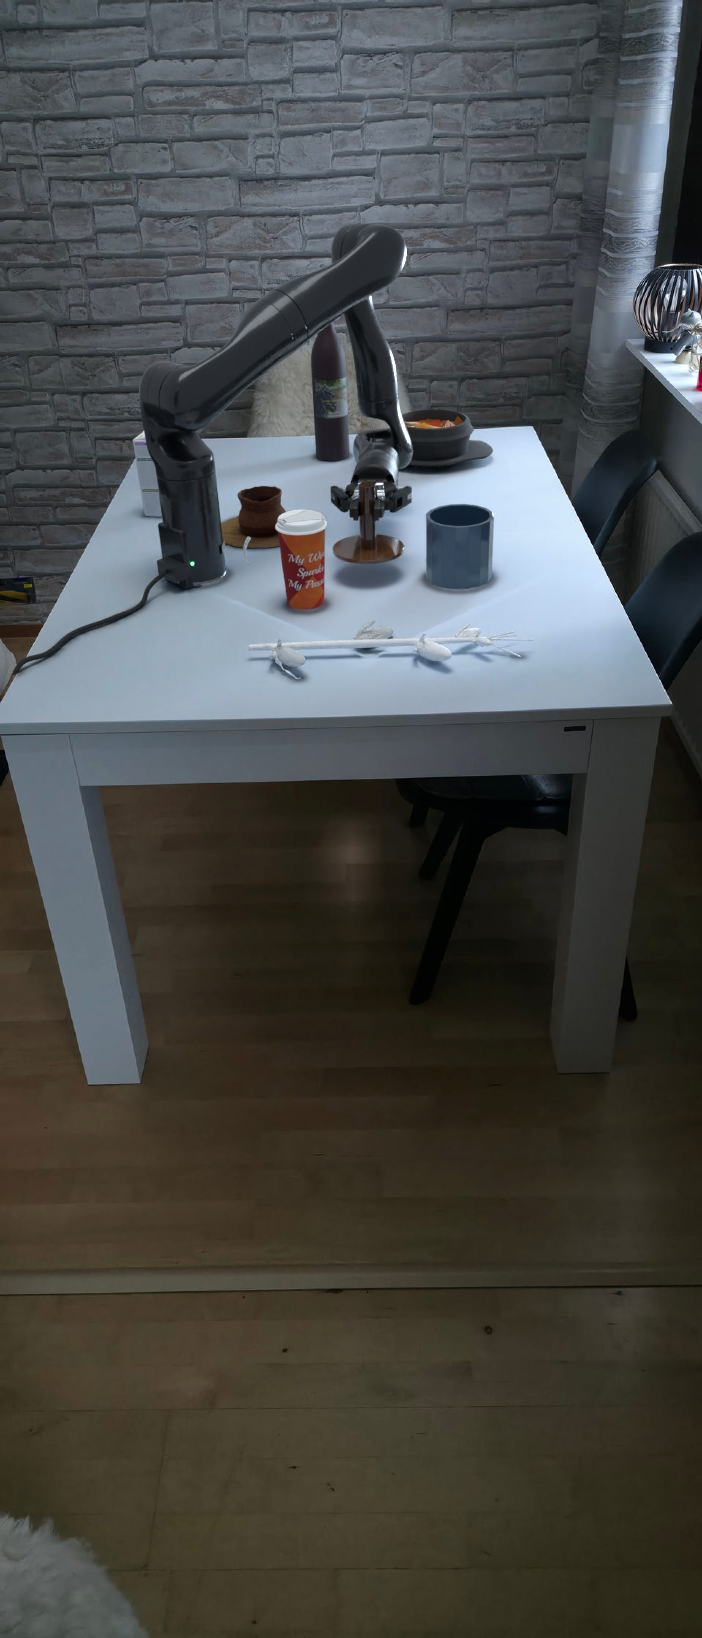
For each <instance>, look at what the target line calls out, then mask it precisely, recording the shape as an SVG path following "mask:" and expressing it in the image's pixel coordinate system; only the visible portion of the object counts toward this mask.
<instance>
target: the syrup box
mask: <svg viewBox="0 0 702 1638" xmlns="http://www.w3.org/2000/svg"><path fill="white" fill-rule="evenodd" d="M132 445H133V449H134V457H135V464H136V471H137V476H138V483H139V488H140V494H141V502H142V506H143V507H142V508H143V513H144V516H145V517H149V518H150V517H152V518H162V513H161V506H160V498H159V490H158V483H157V475H156V469H155V465H154V462H153V461H152V459H151V457H150V455H149V452H148V449H147V444H146V439H145V433H144V430H143V431H142V432H141V433H140V434H138V435H137V436H135V438H133V439H132Z"/></svg>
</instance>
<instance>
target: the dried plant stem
mask: <svg viewBox="0 0 702 1638" xmlns="http://www.w3.org/2000/svg"><path fill="white" fill-rule="evenodd" d="M250 540H251V538H250V537H247V539H246V540H245V543H244V547H243V556H244V560H245V561H246V563H247V565H250V563H249V560H248V556H247V548H248V547H247V545H248V543H249V541H250ZM375 623H376V620H371V621H370V622H367V623H366V624H363V626H362V627H360V628H359V629H358V631H357V632H356V634H355V636H353V638H352V639H346V640H345V639H343V640H342V639H341V640H340V639H339V640H317V641H294V642H293V641H292V642H283V640H282V639H281V638H279V639H278V640H277V642H275V643H271V642H270V643H254V644H252V643H251V644H248V651H249V652H254V651H255V652H257V651H258V652H259V651H263V652H264V651H265V652H266V651H271V652H272V653H270V654H269V656H268V657H269V660H270V661H271V660H275V664H277V665H278V666H279V667H281V670H283V671H285V672H286V673H287V674H289V675H290V676H291V677H293V678H295V679H296V680H300V679H302V677H297V676H296V675H294V673H292V672H291V671H290V670H288V669H284V667H283V665H285V666H287V667H289V668H292V667H303V666H304V665H305V664H306V658H305V656H304V655H303V654H302V653H301V652H299V651H304V650H305V651H307V650H339V649H340V650H341V649H368V648H370V649H371V648H390V647H391V648H392V647H414V648H413V649H412V654H414V655H416V654H417V655H419V656H421V657H422V658H425V659H426V660H429V661H431V662H436V661H440V662H445V661H448V660H450V659H451V658H452V656H453V655H452V651H450V649H449V648H447V647H446V646H443V645H450V644H451V645H452V644H467V643H472V644H476V645H477V646H480V647H491V646H493V647H496V648H498V649H501V650H502V651H505V652H507V653H509V654H512V655H513V656H516V657H519V658H521V657H522V655H520V654H518V653H516V652H513V651H512V650H509V649H507V648H504V647H503V646H500V645H498V644H495V643H493V641H496V642H497V641H498V642H499V641H519V642H520V641H521V642H522V641H523V642H524V641H525V642H526V641H527V642H532V641H533V642H534V640H535V638H511V637H516V636H517V634H516V632H515V630H512V631H508V632H504V633H503V632H502V633H499V634H495V635H488V636H485V637H484V636H480V635H481V633H482V630H481V628H479V627H470V626H471V623H467V624H466V625H463V626H462V627H461V628H460V629H459V630H458V631H457V633H456V634H454V637H427V633H426V632H423V633H422V634H421V636H420V637H410V638H409V637H408V638H407V637H406V638H391V637H392V636H393V635H394V632H395V631H394V628H392V627H390V626H382V625H381V626H375V627H372V626H373V625H374V624H375ZM370 627H371V628H370ZM469 627H470V628H469ZM509 637H510V638H509Z"/></svg>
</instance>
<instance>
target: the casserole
mask: <svg viewBox="0 0 702 1638" xmlns="http://www.w3.org/2000/svg"><path fill="white" fill-rule="evenodd" d="M402 417H403V420H404V423H405V425H406V428H407V430H408V433H409V436H410V438H411V442H412V446H413V456H412V459H411V461H410V463H409V464H408V465H407V466H411V467H416V468H420V469H421V468H422V469H438V468H439V469H440V468H445V467H450V466H453V465H456V464H460V463H466V462H469V461H477V460H483V459H486V458H488V457H490V456H491V455H492V454H493V452H494V448H493V447H492V446H491V445H490V444H488V443H487V442H485V441H483V440H478V439H477V440H476V439H471V435H472V434H473V432H474V431H475V428H474V426H473V425H472V423H471V420H470V418H469V416H468V415H466V414H465V413H463V412H459V411H454V410H448V409H419V410H414V411H413V410H412V411H409V412H404V413H402Z"/></svg>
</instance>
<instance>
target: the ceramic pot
mask: <svg viewBox="0 0 702 1638" xmlns="http://www.w3.org/2000/svg"><path fill="white" fill-rule="evenodd" d="M282 494H283V491H282V489H281V488H280V487H277V486H275V485H274V486H269V485H259V486H253V487H250V488H244V489H241V490H240V491H238V493H237V499H238V500H239V503H240V509H239V511H238V516H236V517H232V518H229V519H227V520H226V521H224V522H221V527H222V537H223V542H224V540H225V545H226V544H227V545H230V546H233V547H238V548H239V547H240V548H244V543H245V540H246V539H247V537H250V538H251V540H250V541H249V543H248V545H247V548H252V549H256V548H261V549H264V548H267V549H268V548H276V547H280V544H279V536H278V531H277V530H276V529H275V526H276V524H277V520H278V517H279V516H280V515H281V514H283V513H285V512H287V511H286V508H284V507H283V506H282Z"/></svg>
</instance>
